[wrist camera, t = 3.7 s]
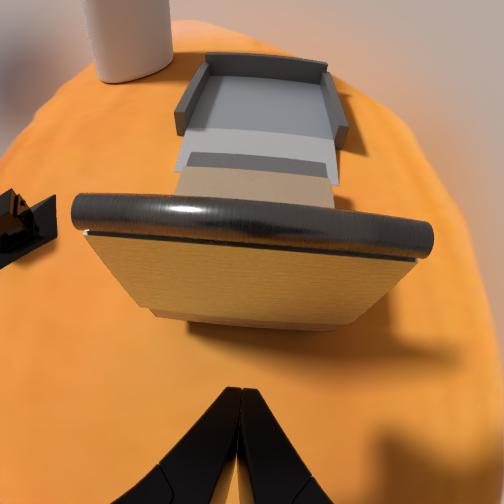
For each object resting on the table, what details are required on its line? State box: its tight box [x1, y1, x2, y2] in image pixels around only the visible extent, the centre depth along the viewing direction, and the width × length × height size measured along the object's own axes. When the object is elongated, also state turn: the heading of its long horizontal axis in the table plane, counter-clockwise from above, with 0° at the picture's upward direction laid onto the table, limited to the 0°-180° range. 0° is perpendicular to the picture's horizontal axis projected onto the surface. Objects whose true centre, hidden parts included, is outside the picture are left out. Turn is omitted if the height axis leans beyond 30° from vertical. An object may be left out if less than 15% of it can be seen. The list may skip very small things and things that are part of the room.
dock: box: [174, 52, 349, 186], centre depth 27 cm, size 19×16×5 cm
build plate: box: [0, 188, 58, 269], centre depth 18 cm, size 12×7×5 cm, turn 118°
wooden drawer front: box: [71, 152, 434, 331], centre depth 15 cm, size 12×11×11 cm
